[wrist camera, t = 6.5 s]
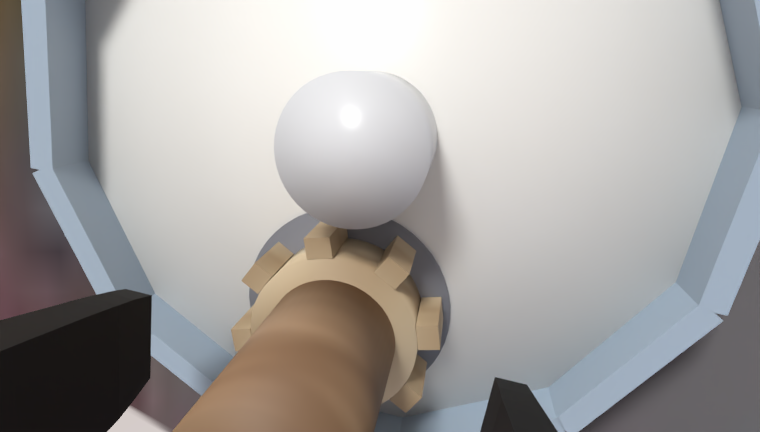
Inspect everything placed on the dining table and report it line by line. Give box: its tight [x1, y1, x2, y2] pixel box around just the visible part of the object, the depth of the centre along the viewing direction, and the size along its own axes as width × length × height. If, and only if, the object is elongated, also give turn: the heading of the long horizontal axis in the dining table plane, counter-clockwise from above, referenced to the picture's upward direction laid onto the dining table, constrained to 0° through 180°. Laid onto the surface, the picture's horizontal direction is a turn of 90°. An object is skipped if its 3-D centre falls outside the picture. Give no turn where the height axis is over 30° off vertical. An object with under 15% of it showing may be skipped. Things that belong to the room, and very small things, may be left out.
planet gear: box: [172, 221, 443, 432], centre depth 10 cm, size 5×5×6 cm
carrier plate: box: [21, 0, 760, 432], centre depth 11 cm, size 17×17×4 cm
